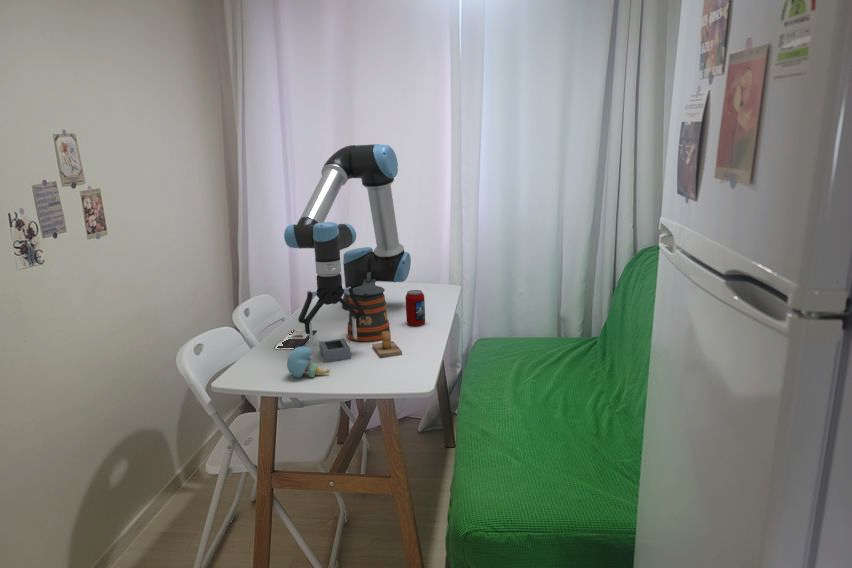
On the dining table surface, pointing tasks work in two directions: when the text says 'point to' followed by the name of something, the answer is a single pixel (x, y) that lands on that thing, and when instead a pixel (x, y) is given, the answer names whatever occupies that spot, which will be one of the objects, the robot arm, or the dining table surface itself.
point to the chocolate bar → (296, 339)
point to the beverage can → (415, 307)
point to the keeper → (386, 346)
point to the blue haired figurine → (303, 363)
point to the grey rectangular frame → (335, 350)
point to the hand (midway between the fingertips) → (333, 340)
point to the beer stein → (369, 312)
